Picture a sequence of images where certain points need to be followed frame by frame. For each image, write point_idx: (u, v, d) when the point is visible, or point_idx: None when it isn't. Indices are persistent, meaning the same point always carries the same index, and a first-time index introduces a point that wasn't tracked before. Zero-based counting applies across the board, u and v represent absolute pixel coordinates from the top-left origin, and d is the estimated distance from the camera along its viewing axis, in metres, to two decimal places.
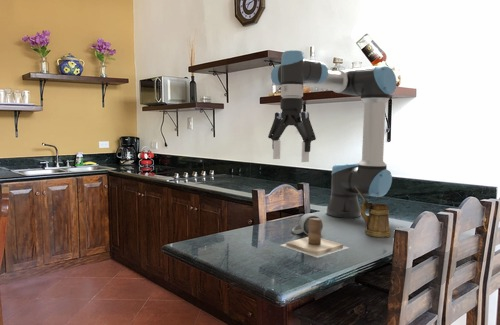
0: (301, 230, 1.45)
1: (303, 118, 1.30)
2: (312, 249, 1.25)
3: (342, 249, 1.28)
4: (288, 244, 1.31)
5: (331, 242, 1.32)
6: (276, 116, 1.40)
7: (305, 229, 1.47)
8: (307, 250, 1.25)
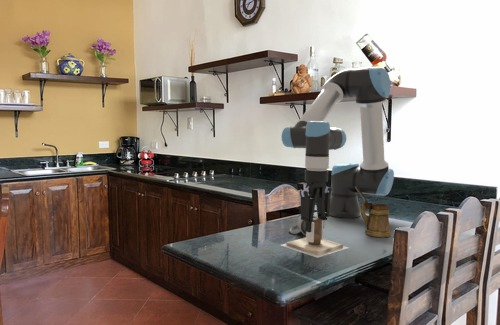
0: (298, 230, 1.45)
1: None
2: (312, 249, 1.25)
3: (342, 249, 1.28)
4: (288, 244, 1.31)
5: (331, 242, 1.32)
6: None
7: (302, 229, 1.47)
8: (307, 250, 1.25)
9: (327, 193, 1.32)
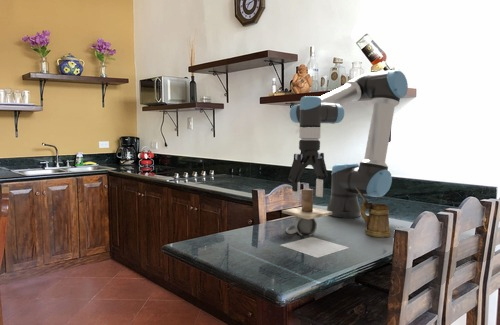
0: (295, 230, 1.45)
1: None
2: (304, 214, 1.41)
3: (342, 249, 1.28)
4: (283, 212, 1.48)
5: (322, 210, 1.49)
6: None
7: (299, 229, 1.47)
8: (300, 215, 1.41)
9: (321, 158, 1.49)
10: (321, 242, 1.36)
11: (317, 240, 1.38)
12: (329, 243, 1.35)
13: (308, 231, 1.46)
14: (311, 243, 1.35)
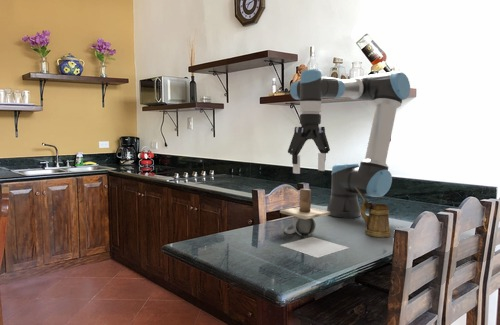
0: (293, 230, 1.45)
1: None
2: (302, 214, 1.41)
3: (342, 249, 1.28)
4: (281, 211, 1.48)
5: (320, 210, 1.48)
6: None
7: (297, 229, 1.47)
8: (297, 215, 1.41)
9: (322, 132, 1.48)
10: (321, 242, 1.36)
11: (317, 240, 1.38)
12: (329, 243, 1.35)
13: (307, 231, 1.46)
14: (311, 243, 1.35)
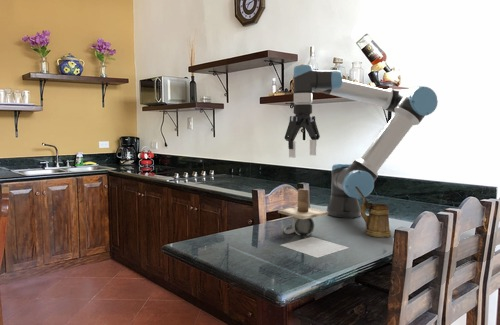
0: (292, 230, 1.45)
1: None
2: (299, 214, 1.41)
3: (342, 249, 1.28)
4: (279, 211, 1.48)
5: (318, 210, 1.48)
6: None
7: (296, 229, 1.47)
8: (295, 215, 1.41)
9: (313, 121, 1.67)
10: (321, 242, 1.36)
11: (317, 240, 1.38)
12: (329, 243, 1.35)
13: (306, 231, 1.46)
14: (311, 243, 1.35)
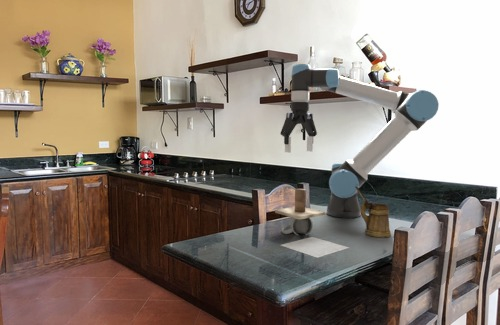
0: (291, 230, 1.45)
1: None
2: (296, 214, 1.41)
3: (342, 249, 1.28)
4: (276, 211, 1.48)
5: (315, 210, 1.48)
6: None
7: (295, 229, 1.47)
8: (292, 215, 1.41)
9: (310, 118, 1.73)
10: (321, 242, 1.36)
11: (317, 240, 1.38)
12: (329, 243, 1.35)
13: (304, 231, 1.46)
14: (311, 243, 1.35)
